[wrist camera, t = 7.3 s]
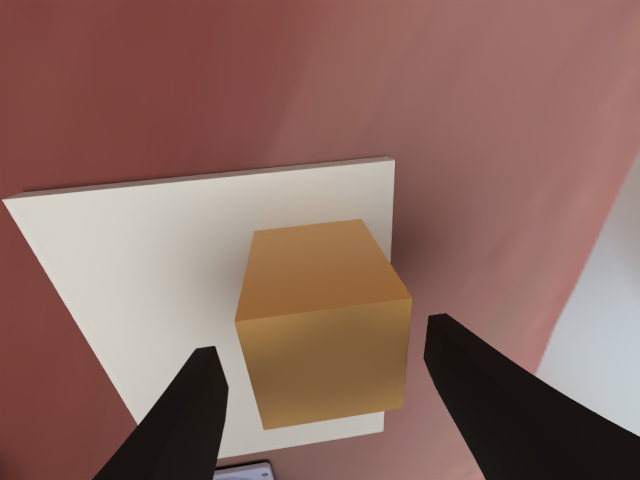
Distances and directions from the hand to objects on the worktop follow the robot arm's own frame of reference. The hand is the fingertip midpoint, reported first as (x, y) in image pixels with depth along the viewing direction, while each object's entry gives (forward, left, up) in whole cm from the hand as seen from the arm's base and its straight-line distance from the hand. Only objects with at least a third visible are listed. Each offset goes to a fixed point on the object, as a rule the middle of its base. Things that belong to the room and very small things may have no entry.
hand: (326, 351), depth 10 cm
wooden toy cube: (0, 0, -5) cm, 5 cm away
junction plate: (-5, +4, -6) cm, 9 cm away
